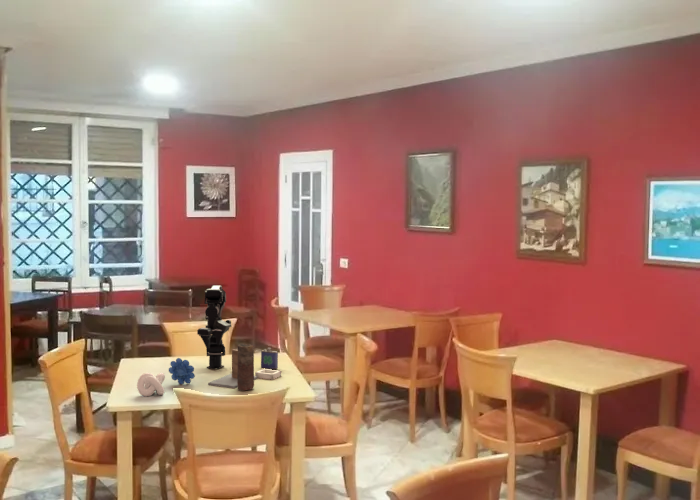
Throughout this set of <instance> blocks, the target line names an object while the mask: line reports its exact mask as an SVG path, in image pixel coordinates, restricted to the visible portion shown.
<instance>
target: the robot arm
mask: <svg viewBox="0 0 700 500" xmlns="http://www.w3.org/2000/svg"><path fill="white" fill-rule="evenodd" d="M226 302H227V293H226V291H225V290H224V289H223V286H222V285H217V284H216V285H215V284H214V285H212V286H211V288H207V289H206V290H204V305H207V307H206V309H205V311H204V312H205V315H206V316H205V320H207V325H205V327H201V328H198V329H197V333H196V335H198V336H199V337H200V338H201V340H202V342H203V343H204V346H205V347H206V350H205V351H206V357H208V366H206V369H213V370H219V369H222V368H224V367H225V365H222V363H223V362H222V360H223V359H222V357H224V356H226V346H225V345H224V343H223V337H224V335H225V334H226V333H227V332H229V331H230V328H231V327H232V320H231V319H227V320H222V319H223V318H222V311H223V309H224V308H225V304H226Z"/></svg>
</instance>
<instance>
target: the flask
mask: <svg viewBox="0 0 700 500" xmlns="http://www.w3.org/2000/svg"><path fill="white" fill-rule="evenodd" d="M271 349H272V347H267V349H266V348H264V349H262V350H261V351H260V355H261V357H260V369H262V368H265V369H270V370H272V369H277V370H278V368H279V367H278V366H279V365H278V362H279V361H278V359H279V358H278V357H279V352H278V351H276V350H271Z"/></svg>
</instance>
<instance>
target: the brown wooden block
mask: <svg viewBox="0 0 700 500" xmlns="http://www.w3.org/2000/svg"><path fill="white" fill-rule="evenodd" d="M237 369H238V348H234V349H231V373H232V377H233V378H236V379H237Z"/></svg>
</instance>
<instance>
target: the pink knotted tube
mask: <svg viewBox="0 0 700 500" xmlns="http://www.w3.org/2000/svg"><path fill="white" fill-rule="evenodd" d="M165 379H166V375H165V373H163V372H160V373H157V375H156V376H155V375H154V374H153V373H151V372H145V373H142V374H141V375H140V376H139V378H138V379H137V384H136V386H137V387H136V388H137V391H138V393H139V394H140V395H141V396H143V397H151V396H152V395H153V394H155V392H156V394H157V395H158V396H163V395H164V394H165V388H164V386H163V385H162V384H163V383H164V381H165Z"/></svg>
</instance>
